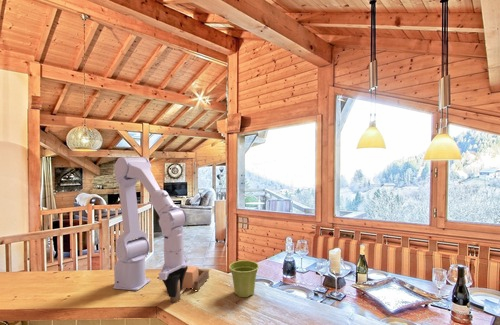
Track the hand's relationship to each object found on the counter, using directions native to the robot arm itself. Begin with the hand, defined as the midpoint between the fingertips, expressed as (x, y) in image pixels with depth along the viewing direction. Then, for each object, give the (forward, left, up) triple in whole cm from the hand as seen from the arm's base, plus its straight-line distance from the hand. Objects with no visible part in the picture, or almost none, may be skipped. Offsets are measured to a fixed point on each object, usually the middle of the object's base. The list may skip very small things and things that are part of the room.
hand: (175, 293), depth 85 cm
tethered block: (0, +5, -2) cm, 6 cm away
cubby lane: (0, +11, -2) cm, 11 cm away
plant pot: (+20, +8, -2) cm, 21 cm away
